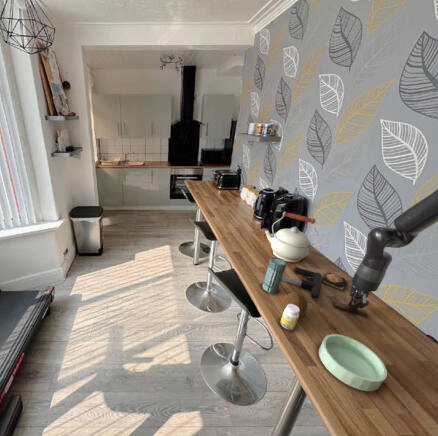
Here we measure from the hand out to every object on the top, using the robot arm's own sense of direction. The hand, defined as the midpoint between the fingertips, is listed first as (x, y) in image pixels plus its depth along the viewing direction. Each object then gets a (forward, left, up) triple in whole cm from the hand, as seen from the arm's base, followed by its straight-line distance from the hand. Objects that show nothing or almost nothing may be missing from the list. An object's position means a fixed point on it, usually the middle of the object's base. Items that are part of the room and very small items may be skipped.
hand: (351, 310), depth 96 cm
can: (+30, +3, -1) cm, 30 cm away
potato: (+21, +13, -1) cm, 25 cm away
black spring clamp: (+17, -10, -1) cm, 20 cm away
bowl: (+6, +30, 0) cm, 31 cm away
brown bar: (0, 0, 0) cm, 0 cm away
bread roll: (+3, -19, -1) cm, 19 cm away
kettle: (+25, -34, -1) cm, 42 cm away
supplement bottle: (+23, +22, -1) cm, 32 cm away
